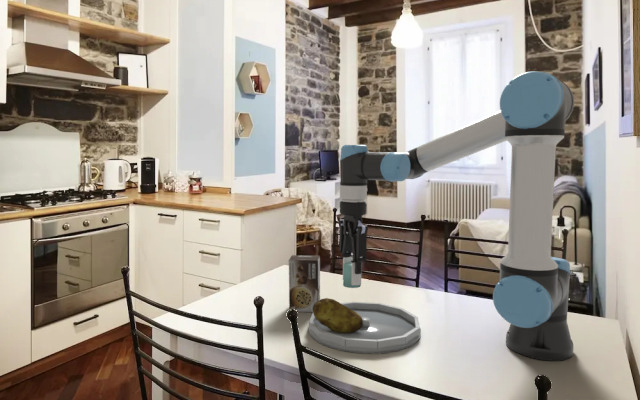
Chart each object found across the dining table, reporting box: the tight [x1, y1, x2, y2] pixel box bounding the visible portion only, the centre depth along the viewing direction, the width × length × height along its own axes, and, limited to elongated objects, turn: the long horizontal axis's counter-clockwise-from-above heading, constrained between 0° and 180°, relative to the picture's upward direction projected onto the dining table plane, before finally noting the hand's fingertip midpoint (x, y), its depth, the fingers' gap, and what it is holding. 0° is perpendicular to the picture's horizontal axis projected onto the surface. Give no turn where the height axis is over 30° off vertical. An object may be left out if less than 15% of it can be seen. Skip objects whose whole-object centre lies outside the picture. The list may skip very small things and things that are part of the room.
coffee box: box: [288, 254, 321, 313], centre depth 143 cm, size 9×6×16 cm
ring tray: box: [308, 301, 422, 355], centre depth 127 cm, size 30×30×3 cm
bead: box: [342, 263, 362, 289], centre depth 133 cm, size 5×5×6 cm
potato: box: [312, 297, 363, 333], centre depth 124 cm, size 8×13×8 cm, turn 57°
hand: (351, 281), depth 133 cm, fingers closed on bead, 5 cm apart
